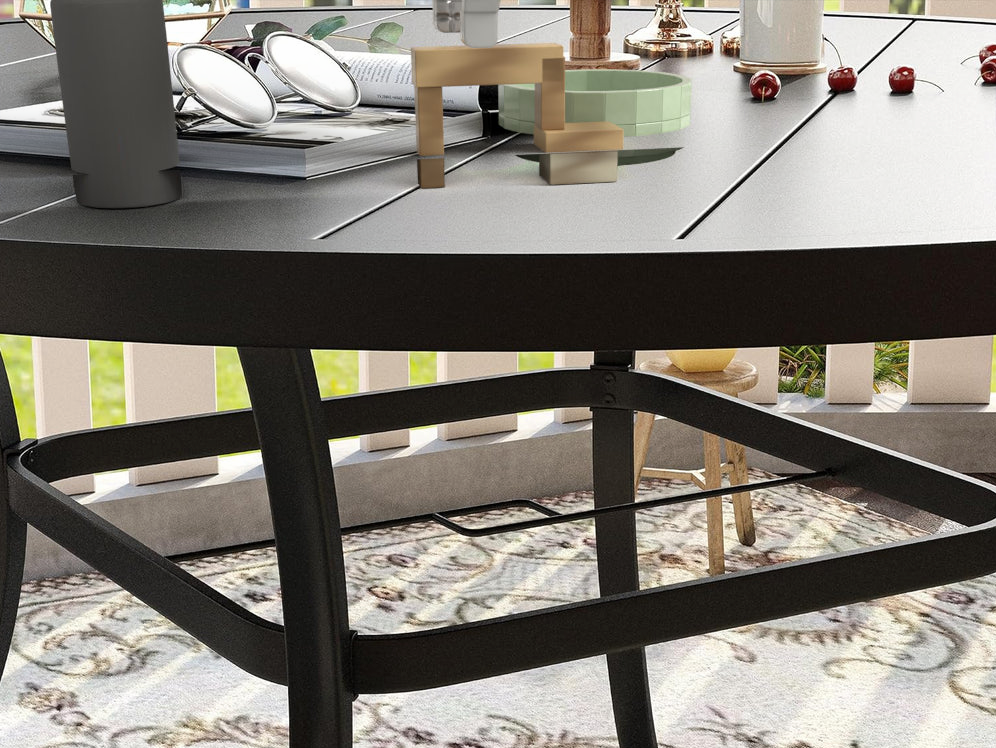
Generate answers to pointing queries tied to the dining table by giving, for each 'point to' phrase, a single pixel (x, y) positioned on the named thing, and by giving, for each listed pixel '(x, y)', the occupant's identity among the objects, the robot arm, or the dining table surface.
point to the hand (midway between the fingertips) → (463, 39)
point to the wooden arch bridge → (550, 128)
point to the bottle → (117, 101)
